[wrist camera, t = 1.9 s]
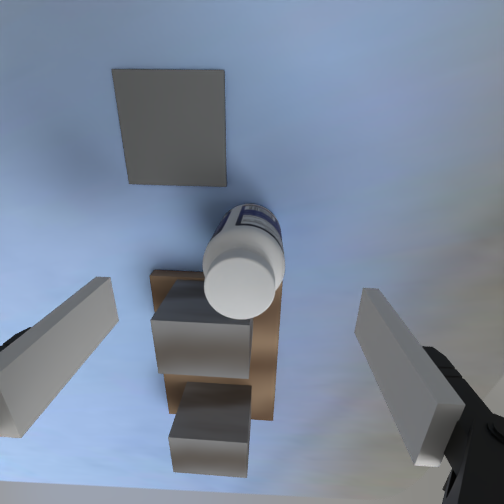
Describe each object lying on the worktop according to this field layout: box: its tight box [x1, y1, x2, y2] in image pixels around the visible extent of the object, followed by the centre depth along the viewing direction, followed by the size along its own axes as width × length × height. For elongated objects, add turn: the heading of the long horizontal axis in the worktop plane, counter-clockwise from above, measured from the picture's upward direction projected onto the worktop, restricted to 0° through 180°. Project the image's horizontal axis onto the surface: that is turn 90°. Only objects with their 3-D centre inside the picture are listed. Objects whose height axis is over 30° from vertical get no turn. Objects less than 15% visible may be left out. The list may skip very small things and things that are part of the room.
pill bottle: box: [203, 204, 285, 319], centre depth 20 cm, size 5×5×10 cm
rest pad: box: [112, 69, 227, 187], centre depth 21 cm, size 8×8×1 cm
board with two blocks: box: [150, 270, 282, 478], centre depth 26 cm, size 18×12×7 cm, turn 179°
